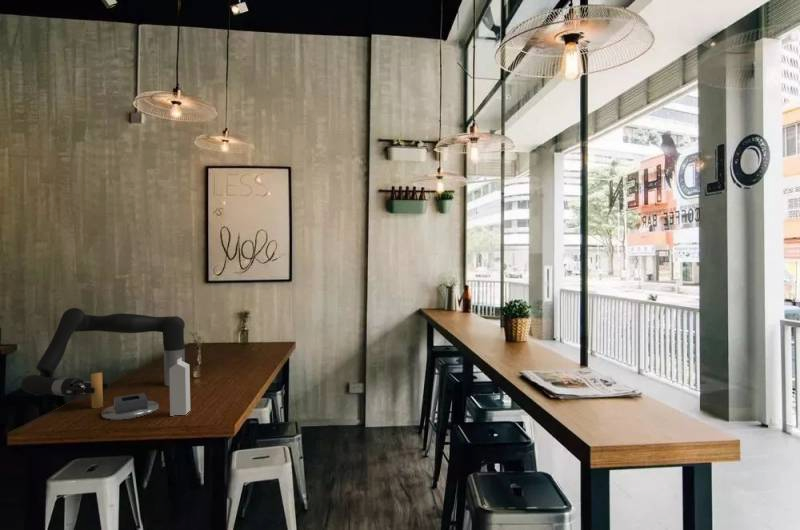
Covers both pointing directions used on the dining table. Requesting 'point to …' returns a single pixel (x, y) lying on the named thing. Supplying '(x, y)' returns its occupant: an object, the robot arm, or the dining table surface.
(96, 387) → the pin
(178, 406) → the milk
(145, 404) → the square frame on disc
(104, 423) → the dining table surface
